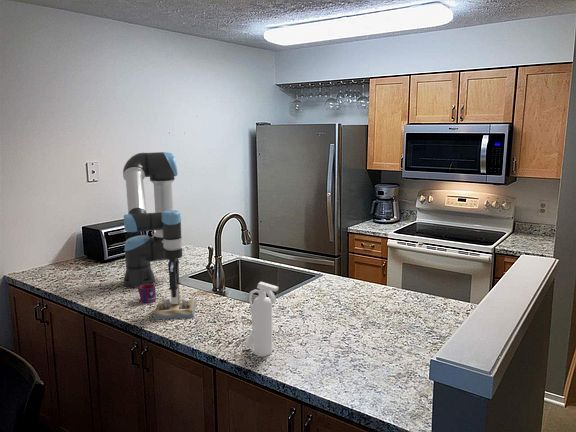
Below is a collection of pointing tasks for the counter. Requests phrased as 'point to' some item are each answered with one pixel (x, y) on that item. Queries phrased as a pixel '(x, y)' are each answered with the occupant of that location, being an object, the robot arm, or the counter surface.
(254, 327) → the fire extinguisher
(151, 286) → the red patterned cup
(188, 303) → the peg stand base
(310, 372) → the counter surface
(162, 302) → the board
